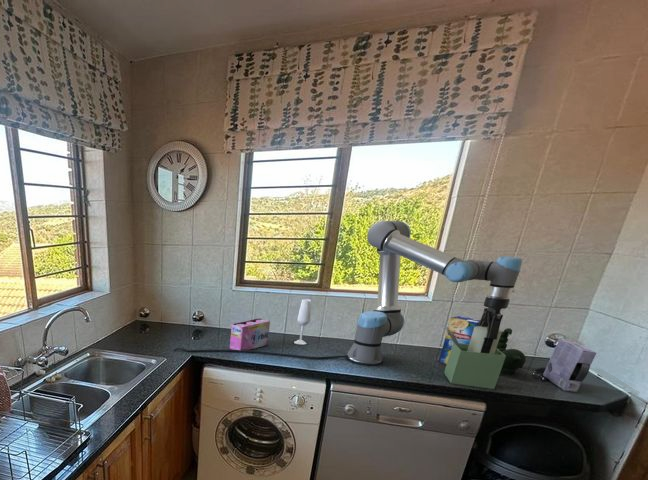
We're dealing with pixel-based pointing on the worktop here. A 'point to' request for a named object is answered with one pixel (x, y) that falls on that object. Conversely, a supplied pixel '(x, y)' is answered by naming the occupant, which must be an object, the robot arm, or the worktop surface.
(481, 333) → the can
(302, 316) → the champagne flute
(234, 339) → the gum box
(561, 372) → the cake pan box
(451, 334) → the flap
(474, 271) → the robot arm
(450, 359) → the green open box
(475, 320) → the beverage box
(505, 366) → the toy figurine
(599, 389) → the worktop surface
